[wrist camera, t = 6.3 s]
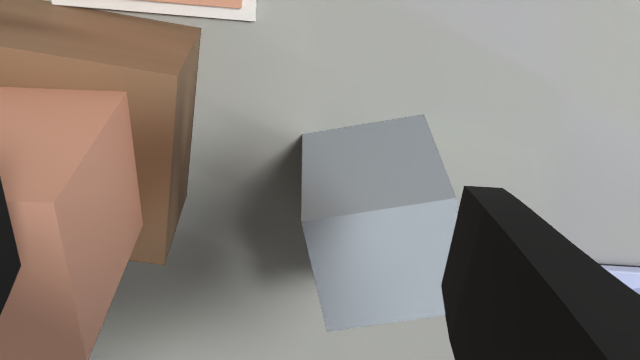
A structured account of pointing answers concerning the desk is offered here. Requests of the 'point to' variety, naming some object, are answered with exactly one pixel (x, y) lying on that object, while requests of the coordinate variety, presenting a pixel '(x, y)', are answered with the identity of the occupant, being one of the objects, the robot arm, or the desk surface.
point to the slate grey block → (377, 221)
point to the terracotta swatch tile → (176, 7)
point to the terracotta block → (65, 216)
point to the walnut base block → (117, 75)
